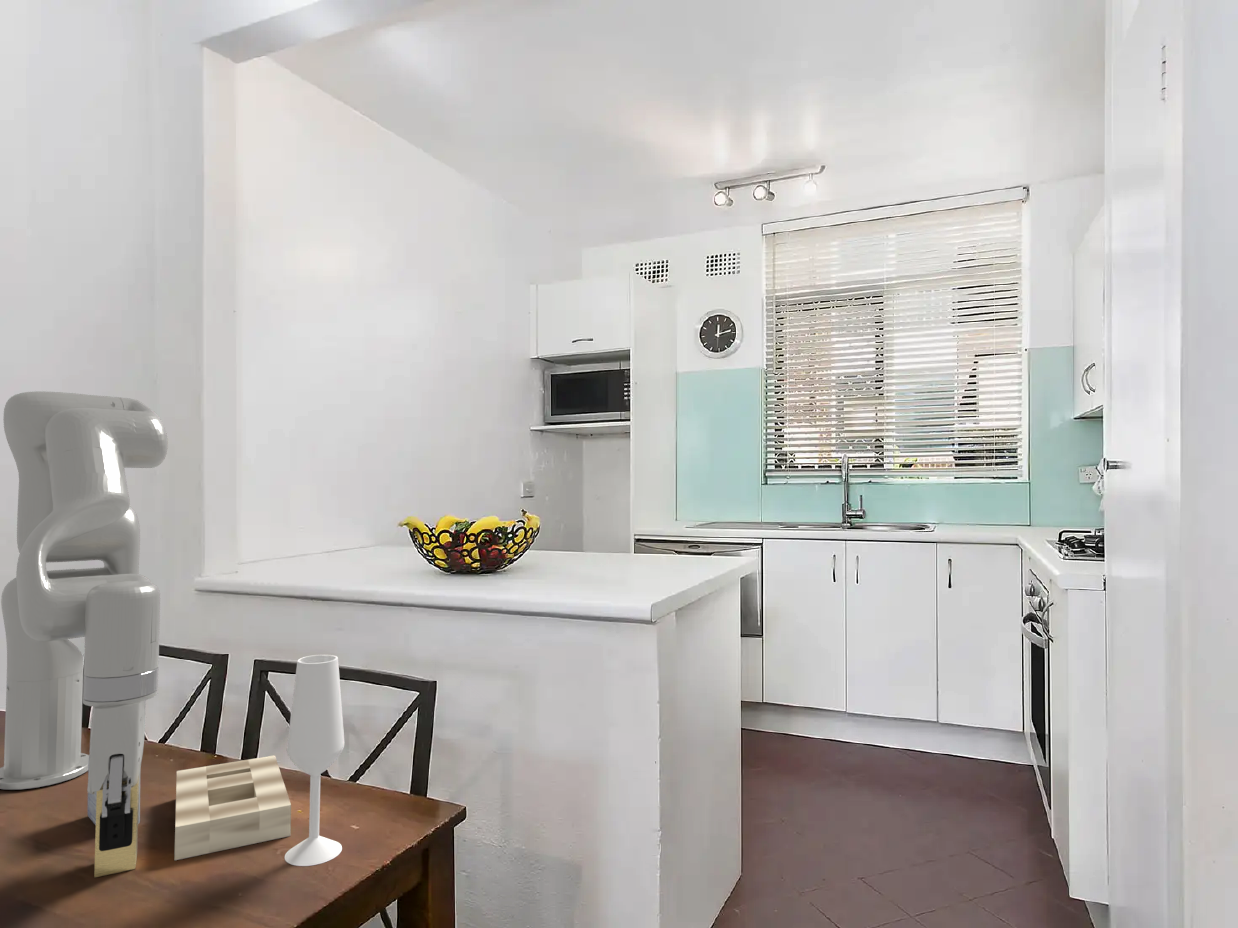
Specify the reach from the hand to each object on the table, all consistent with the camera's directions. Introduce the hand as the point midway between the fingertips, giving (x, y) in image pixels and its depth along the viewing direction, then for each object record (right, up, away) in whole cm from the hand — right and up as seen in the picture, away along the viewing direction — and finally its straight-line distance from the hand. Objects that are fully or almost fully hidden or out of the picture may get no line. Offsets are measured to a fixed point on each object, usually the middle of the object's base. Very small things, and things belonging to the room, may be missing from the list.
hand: (117, 837), depth 89 cm
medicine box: (-8, -4, +11) cm, 15 cm away
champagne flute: (+22, -4, +4) cm, 23 cm away
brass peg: (0, -3, 0) cm, 3 cm away
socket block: (+7, -4, +13) cm, 15 cm away
